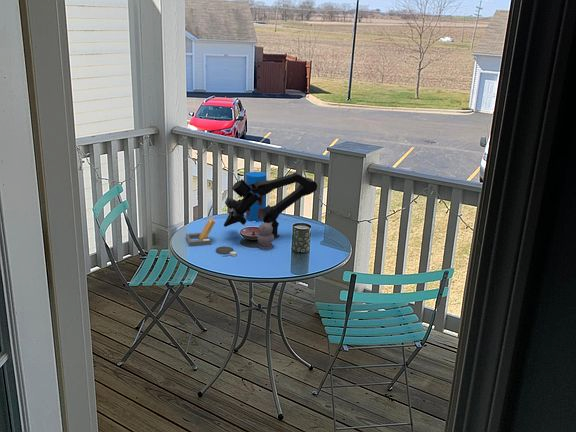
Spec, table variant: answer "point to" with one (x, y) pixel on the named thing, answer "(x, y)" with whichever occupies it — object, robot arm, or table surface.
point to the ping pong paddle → (226, 251)
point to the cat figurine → (265, 236)
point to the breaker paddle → (207, 228)
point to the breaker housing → (197, 242)
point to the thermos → (257, 206)
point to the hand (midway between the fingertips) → (224, 226)
